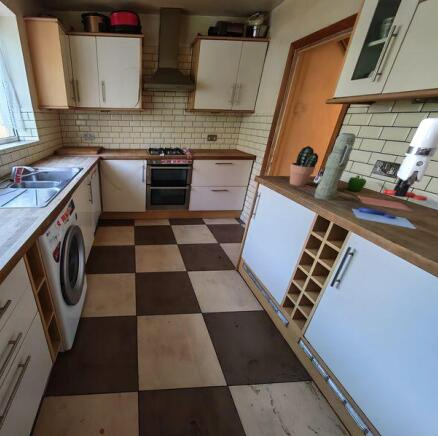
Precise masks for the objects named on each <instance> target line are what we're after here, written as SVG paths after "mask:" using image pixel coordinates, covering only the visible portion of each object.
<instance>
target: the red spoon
mask: <svg viewBox="0 0 438 436" xmlns="http://www.w3.org/2000/svg"><path fill="white" fill-rule="evenodd" d="M395 192H396V191H395V190H394V189H383V190H382V194H383V195H387V196H394V194H395ZM394 197H395V196H394ZM404 198H407V199H413V200H416V201H421V202H422V201H423V202H425V201H427V200H428V196H424V195H419V194H416V193H415V192H410V191H407V193H406V195H405V197H404Z"/></svg>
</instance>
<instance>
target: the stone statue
mask: <svg viewBox="0 0 438 436" xmlns="http://www.w3.org/2000/svg"><path fill="white" fill-rule="evenodd" d="M355 143H356V134H354V133H350V132H342V133H340V134H339V135H338V136H337V138H336V139H335V143H334V144H333V149H332V151H331V152H330V154H329V155H328V157H327V161H326V162H325V166H324V171H323V173H322V177H321V179H320V182H319V183H318V184H317V187H316V189H315V191H314V192H315V193H314V199H317V200H323V201H333V199H334V197H335V196H336V193H337V191H338V185H339V182H340V180H341V178H342V175H343V172H344V171H345V170H346V168H347V166H348V163H349V161H350V155H351V151H352V149H353V147H354V144H355Z"/></svg>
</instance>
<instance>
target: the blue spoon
mask: <svg viewBox="0 0 438 436" xmlns="http://www.w3.org/2000/svg"><path fill="white" fill-rule="evenodd" d="M357 210H358V211H360V212H364V213H370V214H376V215H381V216H384V217H387V218H391V219H395V218H396V217H397V215H395V214H393V213H389V212H386V211H385V210H380V209H374V208H367V207H362V206H361V207H358V209H357Z"/></svg>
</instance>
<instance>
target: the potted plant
mask: <svg viewBox="0 0 438 436" xmlns="http://www.w3.org/2000/svg"><path fill="white" fill-rule="evenodd" d="M318 162H319V155H318V154H317V152H314V148H313V147H311V146H310V145H307V146H304V147H302V148H301V150H300V151H299V152H298V154H297V157H296V161H295V162H291V164H290V168H289V172H290V173H289V184H290V185H291V186H295V187H305V185H306V184H307V182H308V181H309V179H310V177H311V175H313V174H314V172H315V169H316V165H317V163H318Z"/></svg>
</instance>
